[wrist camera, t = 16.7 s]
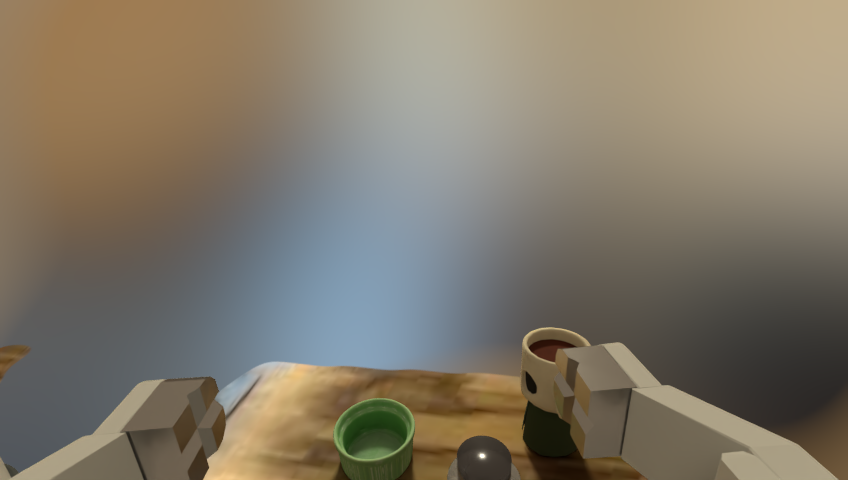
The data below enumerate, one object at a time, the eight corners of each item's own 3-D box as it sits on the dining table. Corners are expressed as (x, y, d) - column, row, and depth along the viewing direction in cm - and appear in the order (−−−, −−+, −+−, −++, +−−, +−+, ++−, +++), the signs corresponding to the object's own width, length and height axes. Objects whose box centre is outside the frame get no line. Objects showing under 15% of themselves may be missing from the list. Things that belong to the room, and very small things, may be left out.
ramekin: (392, 506, 40) (388, 474, 39) (320, 474, 44) (315, 443, 42) (429, 439, 48) (428, 410, 46) (366, 417, 52) (362, 389, 50)
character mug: (514, 404, 52) (518, 317, 48) (571, 407, 51) (580, 318, 47) (522, 478, 42) (527, 377, 38) (593, 484, 41) (607, 381, 37)
